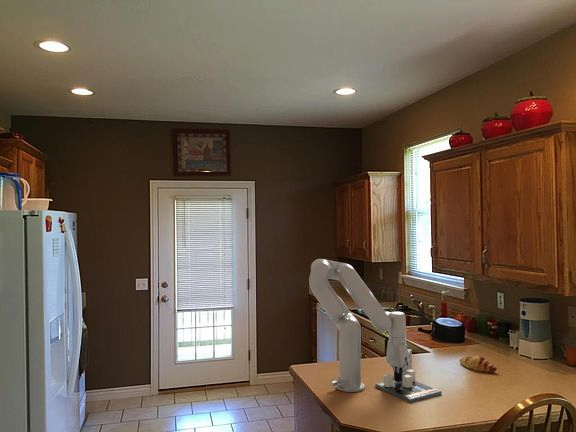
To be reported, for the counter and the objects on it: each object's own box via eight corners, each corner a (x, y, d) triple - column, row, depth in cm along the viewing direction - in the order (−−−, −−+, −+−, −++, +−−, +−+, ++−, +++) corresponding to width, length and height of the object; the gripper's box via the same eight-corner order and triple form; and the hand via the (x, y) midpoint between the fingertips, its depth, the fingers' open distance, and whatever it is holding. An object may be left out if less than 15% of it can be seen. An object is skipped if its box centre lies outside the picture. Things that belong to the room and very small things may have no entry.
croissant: (456, 371, 245) (451, 358, 244) (466, 359, 250) (461, 346, 249) (493, 381, 228) (488, 367, 226) (504, 368, 233) (499, 354, 231)
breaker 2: (410, 382, 213) (410, 372, 213) (405, 380, 216) (405, 370, 216) (415, 381, 214) (415, 371, 215) (410, 379, 217) (410, 369, 217)
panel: (410, 402, 194) (409, 398, 194) (375, 387, 213) (375, 383, 213) (441, 394, 202) (441, 390, 202) (405, 380, 221) (405, 376, 222)
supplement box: (393, 377, 226) (392, 350, 226) (397, 373, 232) (396, 347, 233) (408, 379, 222) (408, 352, 223) (412, 375, 229) (411, 348, 229)
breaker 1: (388, 387, 207) (387, 376, 207) (383, 385, 209) (383, 375, 209) (393, 386, 208) (393, 375, 208) (388, 384, 211) (388, 373, 211)
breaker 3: (407, 388, 206) (407, 377, 206) (402, 385, 208) (402, 375, 208) (412, 386, 207) (412, 376, 207) (407, 384, 210) (407, 374, 210)
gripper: (380, 337, 218) (380, 377, 217) (402, 344, 205) (403, 387, 204) (392, 335, 221) (393, 375, 221) (415, 342, 208) (416, 384, 208)
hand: (398, 380), depth 213 cm, fingers closed
